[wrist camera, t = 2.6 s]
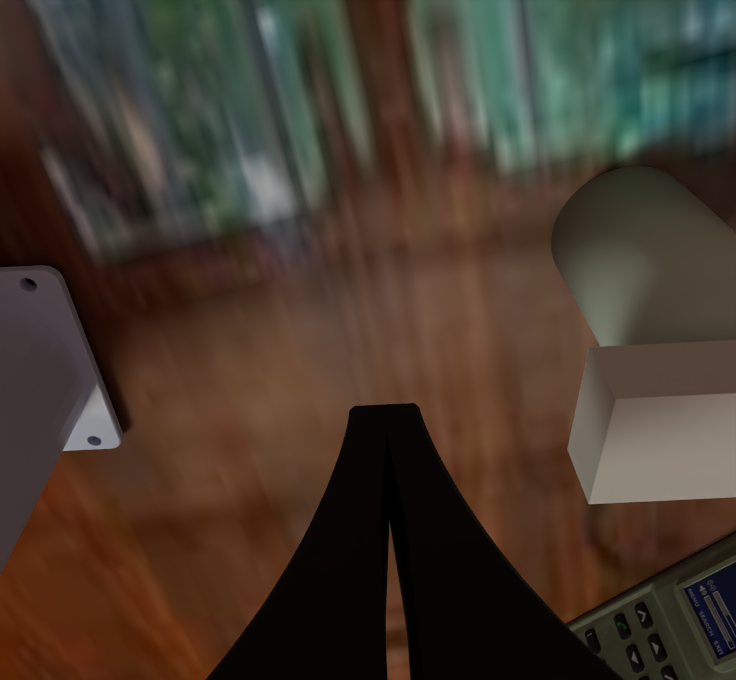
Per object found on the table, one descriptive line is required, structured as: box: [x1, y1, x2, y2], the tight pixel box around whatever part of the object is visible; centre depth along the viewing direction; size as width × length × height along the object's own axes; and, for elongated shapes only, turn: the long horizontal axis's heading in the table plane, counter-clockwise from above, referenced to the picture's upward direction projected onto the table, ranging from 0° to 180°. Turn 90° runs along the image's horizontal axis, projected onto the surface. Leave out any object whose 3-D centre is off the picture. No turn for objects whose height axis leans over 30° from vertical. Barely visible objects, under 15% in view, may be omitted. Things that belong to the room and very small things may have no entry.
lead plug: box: [551, 166, 736, 347], centre depth 17 cm, size 4×4×7 cm
